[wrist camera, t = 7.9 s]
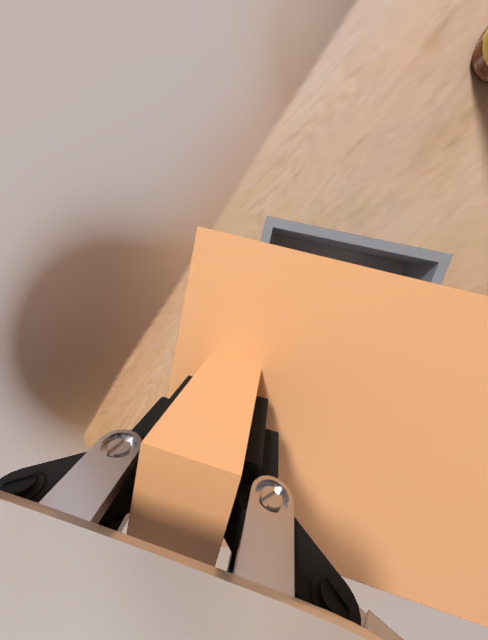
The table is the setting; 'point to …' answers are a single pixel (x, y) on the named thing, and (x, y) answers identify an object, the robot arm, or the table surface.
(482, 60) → the sauce bottle
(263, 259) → the lid
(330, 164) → the table surface
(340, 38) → the table surface
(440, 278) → the tub
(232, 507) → the robot arm
